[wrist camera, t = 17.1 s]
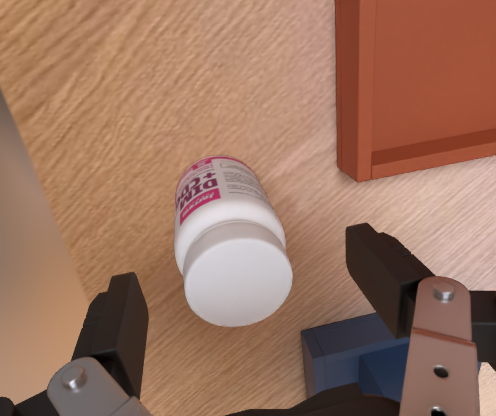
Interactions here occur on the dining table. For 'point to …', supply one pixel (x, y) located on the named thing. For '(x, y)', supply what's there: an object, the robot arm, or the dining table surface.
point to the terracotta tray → (414, 84)
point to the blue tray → (342, 350)
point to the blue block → (384, 371)
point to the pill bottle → (229, 244)
